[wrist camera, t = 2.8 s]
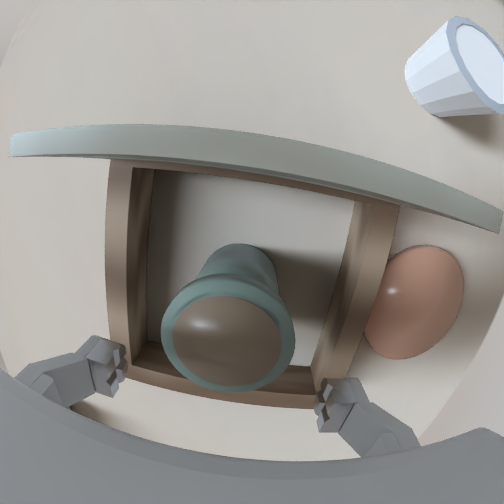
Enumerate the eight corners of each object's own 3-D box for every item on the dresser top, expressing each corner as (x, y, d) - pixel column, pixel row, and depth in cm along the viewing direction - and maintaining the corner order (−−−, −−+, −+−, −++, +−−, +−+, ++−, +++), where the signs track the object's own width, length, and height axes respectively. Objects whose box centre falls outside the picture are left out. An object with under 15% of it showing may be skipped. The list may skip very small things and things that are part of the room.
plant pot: (202, 231, 18) (161, 270, 10) (289, 245, 18) (310, 295, 11) (194, 309, 20) (161, 380, 12) (273, 322, 20) (279, 400, 12)
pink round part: (382, 233, 18) (387, 236, 17) (469, 255, 18) (476, 258, 17) (345, 351, 21) (348, 358, 20) (432, 352, 21) (437, 358, 20)
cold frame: (137, 144, 17) (13, 123, 6) (379, 182, 17) (504, 200, 6) (131, 350, 21) (70, 445, 10) (322, 381, 21) (349, 492, 10)
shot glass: (473, 112, 15) (527, 102, 8) (426, 136, 16) (488, 127, 9) (434, 42, 13) (480, 14, 6) (381, 57, 14) (426, 18, 8)
